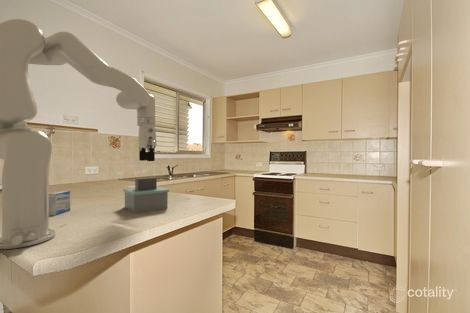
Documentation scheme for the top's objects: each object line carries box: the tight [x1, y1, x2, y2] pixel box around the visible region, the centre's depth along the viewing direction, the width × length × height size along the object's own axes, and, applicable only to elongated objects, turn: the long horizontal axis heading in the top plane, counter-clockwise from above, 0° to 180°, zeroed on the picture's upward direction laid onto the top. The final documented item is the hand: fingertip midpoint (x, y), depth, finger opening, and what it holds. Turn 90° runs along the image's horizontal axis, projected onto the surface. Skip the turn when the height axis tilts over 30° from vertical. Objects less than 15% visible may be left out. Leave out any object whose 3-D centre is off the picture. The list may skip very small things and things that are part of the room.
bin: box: [124, 192, 169, 214], centre depth 98 cm, size 14×14×8 cm
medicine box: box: [49, 190, 71, 216], centre depth 91 cm, size 8×4×9 cm, turn 179°
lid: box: [122, 176, 170, 196], centre depth 98 cm, size 15×15×7 cm
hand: (146, 160), depth 98 cm, fingers open, 9 cm apart
